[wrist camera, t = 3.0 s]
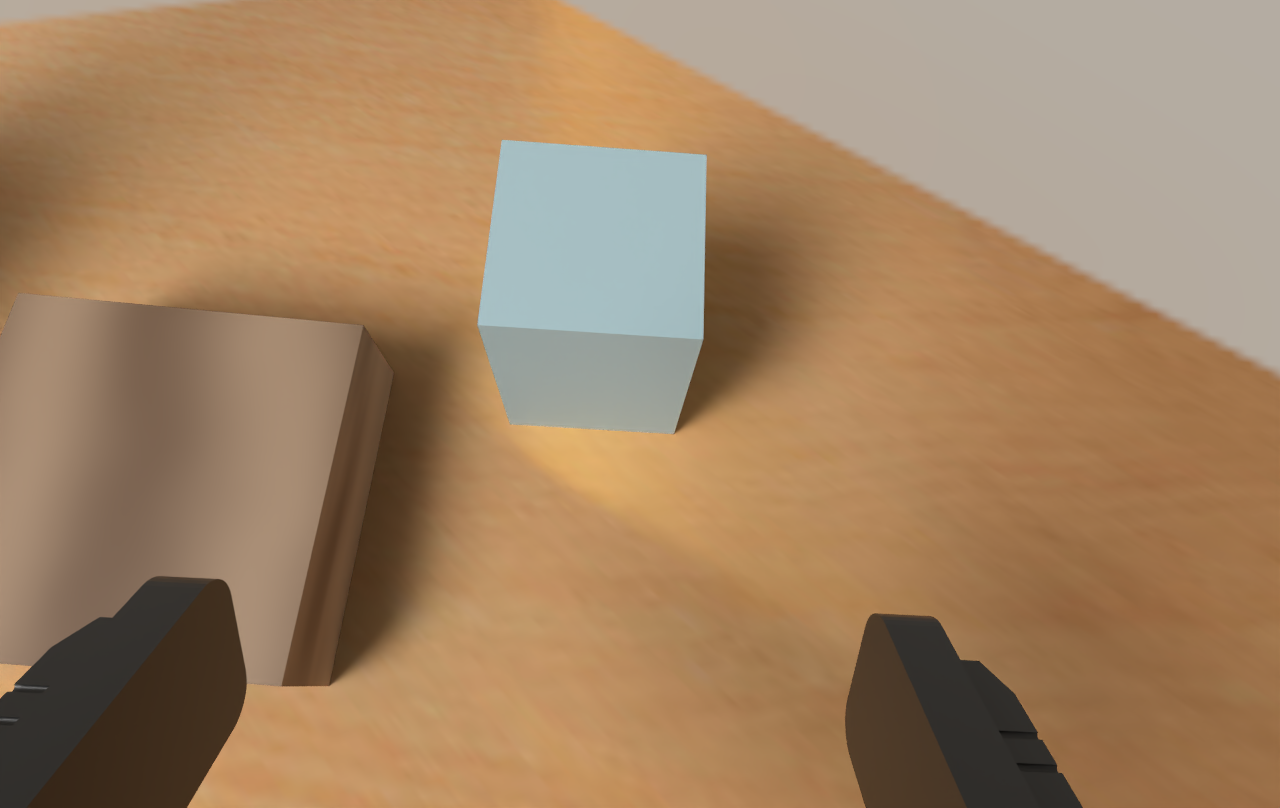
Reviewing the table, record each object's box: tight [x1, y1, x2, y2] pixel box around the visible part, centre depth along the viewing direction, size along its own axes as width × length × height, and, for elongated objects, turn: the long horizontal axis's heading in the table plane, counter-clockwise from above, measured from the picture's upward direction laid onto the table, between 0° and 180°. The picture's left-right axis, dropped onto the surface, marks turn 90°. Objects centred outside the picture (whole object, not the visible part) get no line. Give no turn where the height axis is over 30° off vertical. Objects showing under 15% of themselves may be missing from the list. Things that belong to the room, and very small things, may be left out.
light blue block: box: [477, 140, 707, 434], centre depth 23 cm, size 6×6×8 cm
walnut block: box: [0, 293, 394, 686], centre depth 22 cm, size 10×10×4 cm
